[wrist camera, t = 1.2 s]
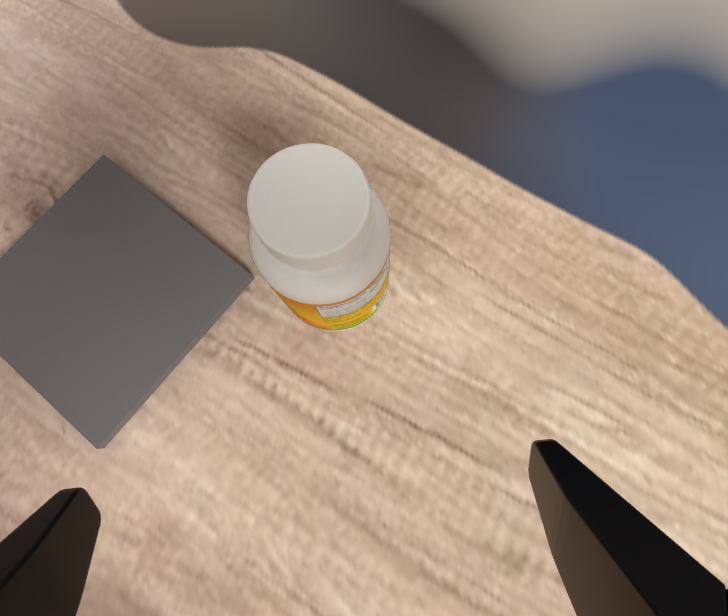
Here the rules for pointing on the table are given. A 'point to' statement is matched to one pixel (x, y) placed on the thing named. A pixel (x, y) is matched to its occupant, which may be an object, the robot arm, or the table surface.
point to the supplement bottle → (320, 235)
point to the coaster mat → (109, 299)
